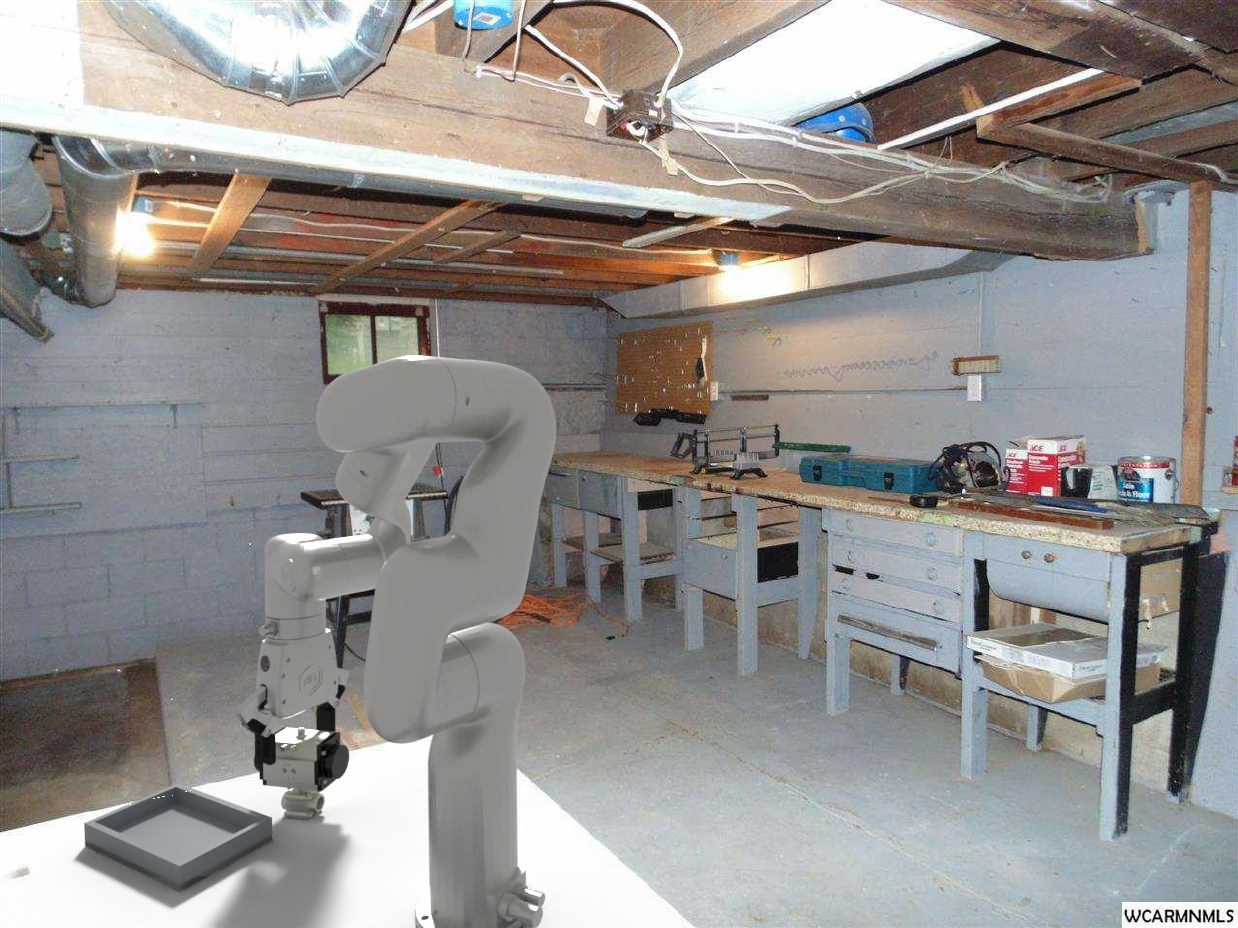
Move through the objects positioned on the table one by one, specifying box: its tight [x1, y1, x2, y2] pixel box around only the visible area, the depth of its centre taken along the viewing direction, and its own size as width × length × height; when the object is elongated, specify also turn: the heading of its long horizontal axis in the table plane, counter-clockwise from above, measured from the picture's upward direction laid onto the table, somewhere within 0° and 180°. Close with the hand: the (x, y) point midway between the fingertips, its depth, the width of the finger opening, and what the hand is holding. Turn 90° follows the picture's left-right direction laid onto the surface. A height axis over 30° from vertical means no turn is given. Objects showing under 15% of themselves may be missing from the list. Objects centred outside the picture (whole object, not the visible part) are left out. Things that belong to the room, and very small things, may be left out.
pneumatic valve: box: [253, 726, 350, 821], centre depth 102 cm, size 6×12×12 cm, turn 79°
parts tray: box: [83, 783, 274, 893], centre depth 95 cm, size 20×12×3 cm, turn 62°
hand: (297, 747), depth 102 cm, fingers open, 9 cm apart
